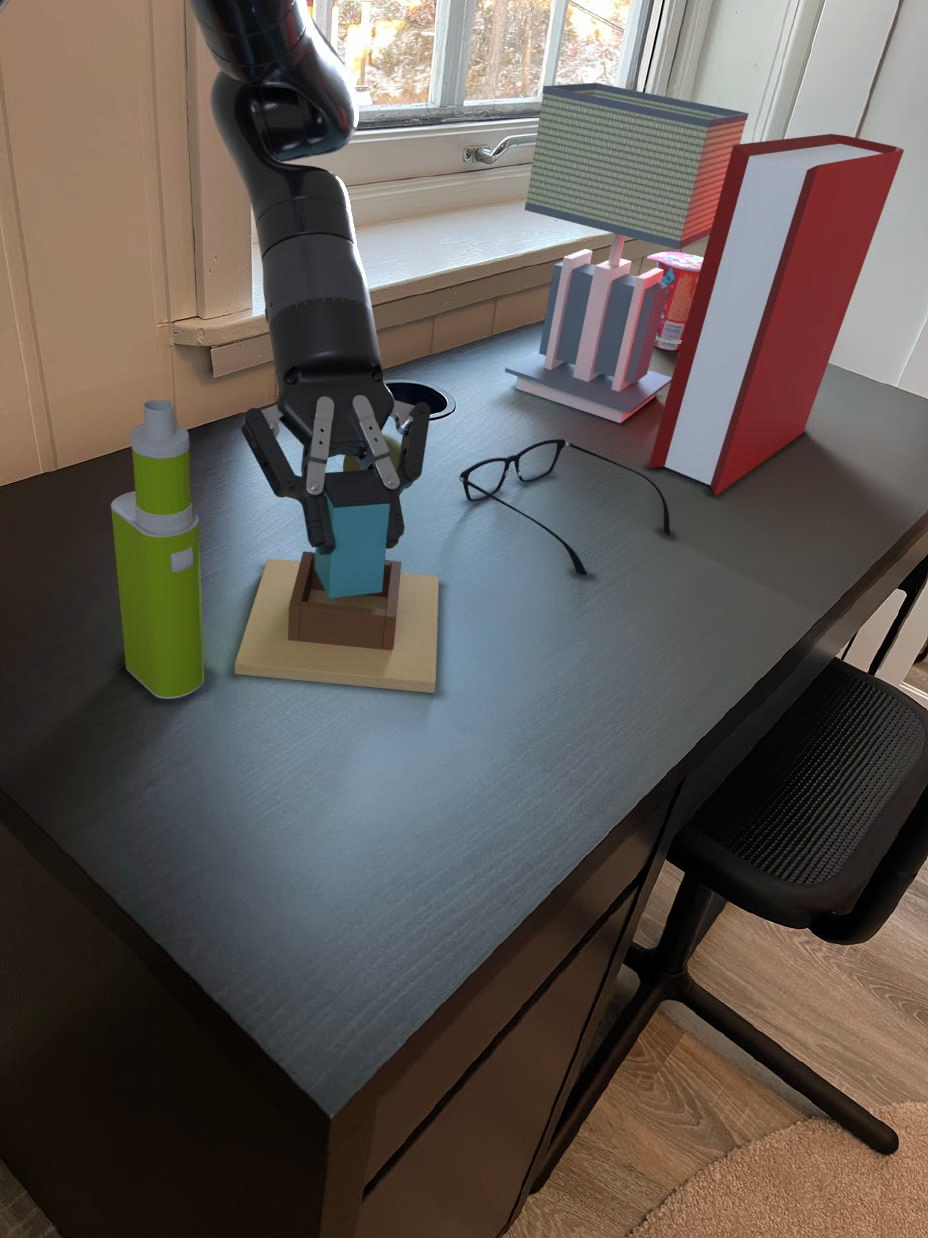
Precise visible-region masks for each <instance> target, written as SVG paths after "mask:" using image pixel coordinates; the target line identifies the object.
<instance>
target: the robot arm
mask: <svg viewBox="0 0 928 1238" xmlns="http://www.w3.org/2000/svg"><path fill="white" fill-rule="evenodd" d="M187 1H188V4H189V6H190V8H191V11H192V13H193V16H194V18H195V20H196V23H197V25H198V27H199V30H200V32H201V34H202V36H203V39H204V42H205V44H206V46H207V49H208V50H209V52H210V55H211V57H212V59H213V60H214V61H215V63H216V65H217V67H218V68H219V69H220V70H219V71H218V72H217V74H216V75H215V78H214V80H213V83H212V85H211V89H210V90H211V91H210V99H209V100H210V109H211V110H210V111H211V115H212V117H213V121H214V123H215V127H216V129H217V131H218V133H219V136H220V138H221V140H222V142H223V144H224V146H225V148H226V150H227V152H228V153H229V155H230V158H231V159H232V160H231V161H233V163H234V165H235V167H236V169H237V171H238V174H239V176H240V178H241V181H242V183H243V185H244V188H245V190H246V193H247V196H248V199H249V203H250V206H251V210H252V213H253V219H254V224H255V229H256V236H257V241H258V246H259V247H258V248H259V253H260V254H259V255H260V259H261V266H262V290H263V300H264V316H265V320H266V323H267V325H268V330H269V331H268V332H269V336H270V343H271V349H272V356H273V362H274V367H275V374H276V380H277V386H278V396H277V399H276V402H275V404H274V405H271V406H269V407H266V408H263V409H259V408H257V407H251V408H249V409H247V411H246V413H245V415H244V418H243V421H242V423H241V424H240V425H241V426H240V431H241V433H242V435H243V438H244V439H245V441H246V442H247V444H248V446H249V448H250V450H251V453H252V454H253V457H254V458H255V460H256V462H257V464H258V466H259V467H260V469H261V472H262V474H263V475H264V477H265V479H266V481H267V483H268V484H269V487H270V488H271V491H272V492H273V494H274V495H275V496H276V497H277V498H289V499H293V500H296V501H298V503H300V505H301V506H302V510H303V511H302V512H303V516H304V517H303V518H304V524H305V531H306V536H307V541H308V543H309V545H310V546H311V548H312V549H313V548H316V547H318V551H319V554H320V555H326V554H330V553H331V552H333V551H334V550H335V539H334V533H333V531H332V525H331V519H330V513H329V507H328V501H327V496H323V488H324V479H325V473H326V470H327V469H326V468H327V464H328V460H329V459H330V458H333V457H336V456H340V455H341V456H345V455H346V456H356V459H357V461H358V463H359V465H360V468H361V469H362V470H374V472H375V473H376V475H377V476H378V478H379V479H380V481H381V482H382V484H383V485H384V487H385V488H386V490H387V491H388V493H389V494H390V496H391V499H390V510H389V521H388V529H387V540H386V550H388V549H393V548H395V547H396V546H397V545H399V541H400V538H401V537H402V536H404V532H405V529H406V527H405V522H404V516H403V511H402V504H401V499H400V496H399V491H400V490H402V489H404V490H406V489H409V488H410V487H411V486H412V485H413V483H414V482H415V481H417V480H419V478H420V477H421V476H422V474H423V465H424V461H425V460H424V459H425V453H426V447H427V446H426V445H427V441H428V440H427V439H428V433H429V432H428V431H429V426H430V418H431V412H432V411H431V407H430V405H429V404H428V403H426V402H424V401H418V402H417V403H416V404H415V405H413V404H410V403H407V402H403V401H400V400H396V399H395V398H394V396H393V393H392V392H391V390H390V389H389V387H388V386H387V385H386V382H385V379H384V370H383V364H382V357H381V352H380V346H379V342H378V341H379V340H378V335H377V329H376V324H375V319H374V312H373V307H372V301H371V295H370V288H369V284H368V279H367V276H366V273H365V270H364V267H363V264H362V260H361V257H360V252H359V247H358V242H357V236H356V231H355V225H354V224H355V223H354V220H353V213H352V207H351V203H350V197H349V195H348V194H349V193H348V190H347V188H346V186H345V184H344V182H343V181H342V179H340V177H339V176H338V175H336V173H333V172H332V171H330V170H328V169H325V168H323V167H318V166H314V165H305V164H297V163H296V164H295V163H294V164H293V163H289V162H295V161H298V160H303V159H309V158H314V157H316V158H317V157H322V156H327V155H332V154H334V153H336V152H339V151H341V150H343V149H344V148H345V147H346V146H347V145H348V144H349V143H350V142H351V140H352V139H353V138H354V135H355V133H356V131H357V128H358V123H359V114H360V113H359V110H360V109H359V101H358V96H357V93H356V88H355V85H354V82H353V81H352V78H351V75H350V74H349V71H348V69H347V68H346V66H345V64H344V62H343V61H342V58H341V57H340V56H339V54H338V53H337V50H336V49H335V48H334V47H333V46H332V44H331V42H330V41H329V40H328V39H327V38H326V36H325V35H324V33H323V32H322V30H320V28H319V26H318V25H317V23H316V22H315V19H313V16H312V14H311V13H310V10H309V6H308V3H307V0H187ZM10 2H11V0H0V15H1V14H2V12H4V10H5V8H6V7H7V6H8V5H9V4H10ZM390 417H391V418H392V419H393V420H394V423H395V429H396V431H397V433H398V434H399V435H402V437H401V443H400V444H401V449H400V456H399V462H398V469H397V470H396V471H395V468H394V466H393V464H392V462H391V459H390V456H389V454H390V453H389V448H388V446H387V444H386V441H385V439H384V437H383V435H382V434H383V433H382V431H383V429H384V428H385V425H386V423H387V421H388V420H389V418H390ZM279 422H280V423H281V424H283V426H284V427H285V428H286V429H287V430H288V431H289V432H290V433H291V434H292V435H293V437H295V439H296V440H298V442H299V443H300V444H301V445H302V446H303V449H302V456H301V467H300V473H301V476H300V475H297V474H295V472H294V470H293V468H292V466H291V464H290V463H289V461H288V458H287V457H286V455H285V453H284V451H283V449H282V447H281V445H280V443H279V441H278V439H277V438H278V436H279V433H280V427H279ZM364 454H365V455H364Z"/></svg>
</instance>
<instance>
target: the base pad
mask: <svg viewBox="0 0 928 1238" xmlns="http://www.w3.org/2000/svg"><path fill="white" fill-rule="evenodd" d="M263 568H264V569H263V572H262V575H261V578H260V581H259V584H258V588H257V590H256V593H255V597H254V600H253V604H252V607H251V610H250V613H249V616H248V618H247V619H248V620H247V622H246V625H245V628H244V632H243V636H242V639H241V642H240V645H239V648H238V651H237V655H236V658H235V661H234V674H235V675H239V676H249V677H260V678H270V679H280V680H292V681H302V682H310V683H311V682H313V683H322V684H323V683H324V684H333V685H343V686H353V687H354V686H355V687H363V688H364V687H366V688H375V689H376V688H377V689H385V690H386V689H387V690H395V691H397V690H398V691H408V692H418V693H428V694H434V693H435V691H436V684H437V660H438V659H437V657H438V656H437V653H438V621H439V618H438V617H439V590H440V589H439V588H440V587H439V586H440V576H438V575H431V574H421V573H411V572H403V571H402V561H400V560H399V561H398V560H389V559H385V564H384V575H383V586H382V592H380V593H372V594H363V595H355V596H347V597H338V598H329V597H328V595H327V593H326V591H325V589H324V587H323V585H322V583H321V581H320V579H319V576H318V574H317V572H316V570H315V552H314V551H306V550H305V551H302V554H301V558H300V561H299V560H298V561H297V560H288V559H280V558H279V559H278V558H268V557H267V559H266V562H265V565H264V567H263Z"/></svg>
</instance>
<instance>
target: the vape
mask: <svg viewBox="0 0 928 1238" xmlns="http://www.w3.org/2000/svg"><path fill="white" fill-rule="evenodd" d="M142 406H143V421H144V423H142V424H140V425H136V427H134V428H133V429H132V430H131V431H130V434H129V435H130V446H131V449H132V450H131V451H132V463H133V464H132V465H133V477H134V491H130V492H126V493H124V494H121V495H119V496H117V497H116V498H115V499H113V500H112V502H111V503H110V509H111V521H112V530H113V531H112V532H113V543H114V552H115V563H116V575H117V585H118V597H119V607H120V616H121V628H122V629H121V630H122V638H123V648H124V649H123V650H124V662H125V670H127V671H128V673H130V674H131V675H132V676H133V677H134V678H135V679H136V680H137V681H138V682H139V683H140V684H141V685H143V686H144V687H145V689H147V690H148V691H149V692H150V693H151V694H152V695H153V696H155V698H156V697H157V698H158V699H165V700H173V699H179V698H182V697H186V696H188V695H190V694H192V693H194V692H195V691H197V690H199V689H200V688H201V687H202V685H203V684H204V682H205V665H204V664H205V663H204V661H205V660H204V639H203V638H204V637H203V636H204V635H203V631H204V630H203V603H202V577H201V576H202V575H201V547H200V546H201V545H200V544H201V543H200V517H199V516H198V514H197V513H195V512H194V511H193V502H192V496H191V495H192V494H191V493H192V492H191V469H190V467H191V465H190V435H189V431H188V430H187V429H186V428H185V427H183V426H180V425H179V424H175V419H174V418H175V416H174V404H173V403H172V402H171V401H168V400H165V399H159V398H158V399H157V398H156V399H149V400H146V401H145V402H143V404H142Z"/></svg>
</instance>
